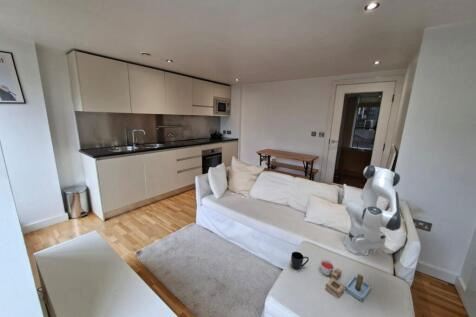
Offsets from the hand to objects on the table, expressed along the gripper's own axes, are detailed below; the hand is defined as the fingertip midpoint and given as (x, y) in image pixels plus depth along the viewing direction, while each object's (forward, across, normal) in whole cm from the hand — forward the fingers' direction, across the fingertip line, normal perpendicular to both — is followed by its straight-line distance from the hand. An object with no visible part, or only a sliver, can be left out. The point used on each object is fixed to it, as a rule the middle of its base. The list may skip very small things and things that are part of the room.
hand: (365, 253), depth 117 cm
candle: (+27, -11, +16) cm, 34 cm away
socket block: (+27, -15, +2) cm, 31 cm away
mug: (+27, -28, +23) cm, 46 cm away
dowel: (+26, 0, 0) cm, 27 cm away
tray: (+27, 0, 0) cm, 27 cm away
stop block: (+27, -8, +10) cm, 30 cm away
